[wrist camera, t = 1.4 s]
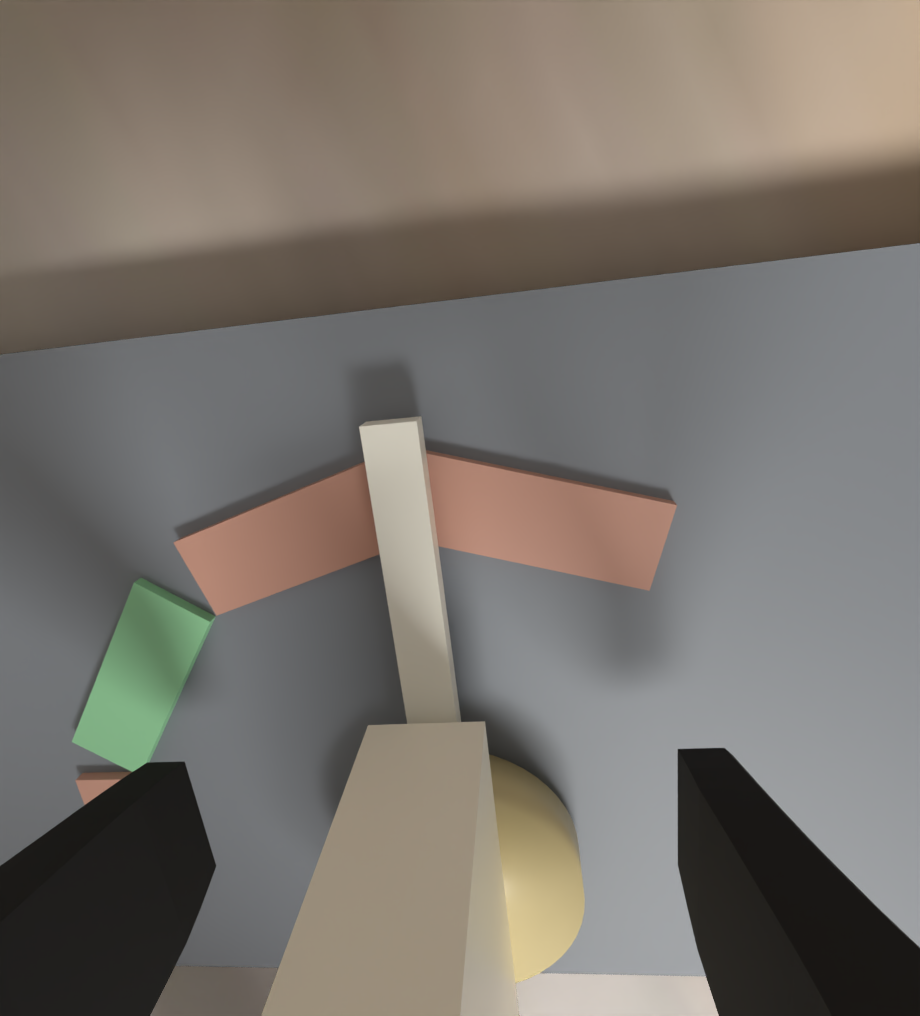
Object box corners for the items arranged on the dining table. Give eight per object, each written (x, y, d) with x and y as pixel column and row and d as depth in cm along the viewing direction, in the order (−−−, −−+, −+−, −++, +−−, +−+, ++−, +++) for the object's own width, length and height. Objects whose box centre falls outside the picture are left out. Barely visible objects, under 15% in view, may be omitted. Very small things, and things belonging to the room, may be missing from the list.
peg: (588, 985, 12) (633, 1435, 7) (371, 979, 12) (279, 1395, 8) (549, 401, 8) (590, 517, 4) (252, 430, 9) (-53, 563, 4)
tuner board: (1079, 920, 12) (1150, 997, 11) (2, 912, 15) (-48, 970, 14) (1272, 202, 8) (1421, 181, 7) (-236, 385, 11) (-341, 394, 10)
